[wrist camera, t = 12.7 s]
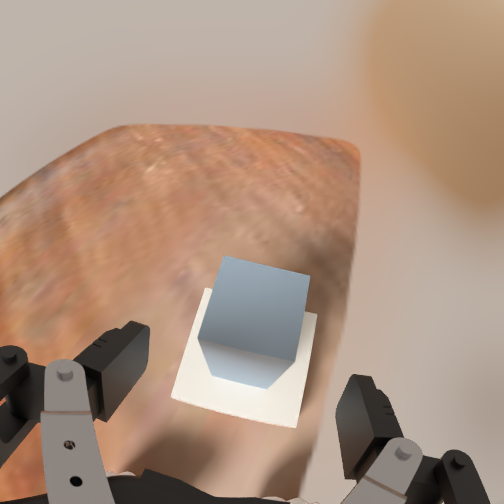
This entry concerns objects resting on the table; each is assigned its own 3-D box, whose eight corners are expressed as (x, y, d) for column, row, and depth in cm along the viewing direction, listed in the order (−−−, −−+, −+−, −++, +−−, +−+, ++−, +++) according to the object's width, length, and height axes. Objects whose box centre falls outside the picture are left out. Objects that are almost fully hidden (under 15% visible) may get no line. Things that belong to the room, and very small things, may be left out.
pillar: (266, 389, 20) (295, 361, 12) (211, 375, 20) (197, 337, 12) (278, 337, 22) (310, 275, 14) (226, 325, 22) (223, 255, 14)
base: (177, 400, 22) (170, 397, 19) (207, 302, 26) (205, 287, 24) (288, 427, 21) (295, 427, 18) (308, 326, 26) (317, 314, 23)
